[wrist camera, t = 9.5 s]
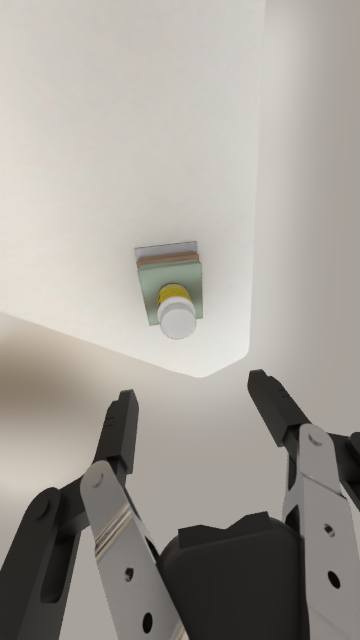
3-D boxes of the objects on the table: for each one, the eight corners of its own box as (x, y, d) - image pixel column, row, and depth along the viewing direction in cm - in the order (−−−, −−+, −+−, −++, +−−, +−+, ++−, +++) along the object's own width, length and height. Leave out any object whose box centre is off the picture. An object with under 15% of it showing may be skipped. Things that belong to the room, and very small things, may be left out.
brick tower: (138, 257, 30) (133, 267, 23) (194, 251, 30) (204, 259, 23) (149, 308, 35) (147, 328, 28) (196, 301, 35) (205, 320, 28)
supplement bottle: (153, 285, 24) (151, 310, 17) (185, 277, 24) (196, 300, 17) (161, 313, 27) (163, 346, 20) (190, 306, 27) (202, 337, 20)
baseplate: (134, 248, 30) (134, 249, 29) (195, 241, 30) (196, 241, 30) (148, 312, 36) (148, 314, 36) (198, 305, 37) (199, 307, 36)
